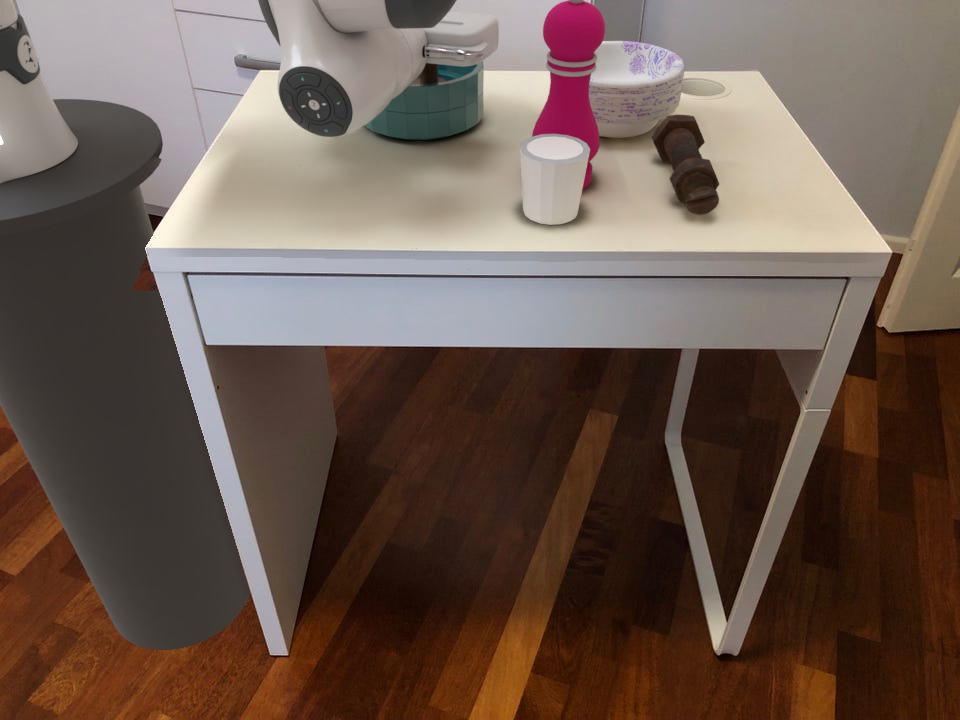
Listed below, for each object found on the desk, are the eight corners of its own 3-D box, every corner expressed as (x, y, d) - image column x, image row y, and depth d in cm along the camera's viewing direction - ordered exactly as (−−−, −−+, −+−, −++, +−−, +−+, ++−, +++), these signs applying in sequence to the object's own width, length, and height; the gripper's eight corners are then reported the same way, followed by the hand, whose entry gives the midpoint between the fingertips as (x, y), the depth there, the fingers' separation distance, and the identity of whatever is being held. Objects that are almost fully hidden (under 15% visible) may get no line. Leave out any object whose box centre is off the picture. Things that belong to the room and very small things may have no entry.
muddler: (411, 105, 96) (402, -59, 85) (412, 92, 100) (404, -68, 88) (447, 105, 96) (443, -59, 85) (447, 91, 100) (443, -68, 88)
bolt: (688, 235, 81) (664, 165, 93) (737, 215, 80) (706, 146, 91) (668, 191, 78) (646, 124, 89) (718, 168, 76) (689, 103, 88)
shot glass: (507, 201, 83) (509, 137, 79) (567, 191, 85) (572, 128, 81) (532, 232, 78) (535, 166, 74) (595, 221, 80) (602, 156, 76)
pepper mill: (592, 165, 90) (611, -26, 77) (598, 195, 84) (620, -5, 72) (528, 164, 90) (537, -27, 77) (530, 194, 84) (540, -6, 72)
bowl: (352, 145, 94) (346, 87, 89) (364, 95, 106) (359, 41, 101) (484, 144, 94) (485, 86, 90) (481, 95, 106) (481, 41, 102)
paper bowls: (526, 122, 99) (529, 58, 94) (604, 91, 107) (610, 30, 102) (623, 161, 91) (632, 93, 86) (699, 124, 99) (711, 60, 94)
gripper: (478, 26, 78) (515, -11, 88) (291, 8, 83) (347, -25, 93) (478, 90, 82) (514, 47, 92) (299, 69, 87) (352, 31, 97)
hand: (429, 11), depth 92 cm, fingers closed on muddler, 2 cm apart
